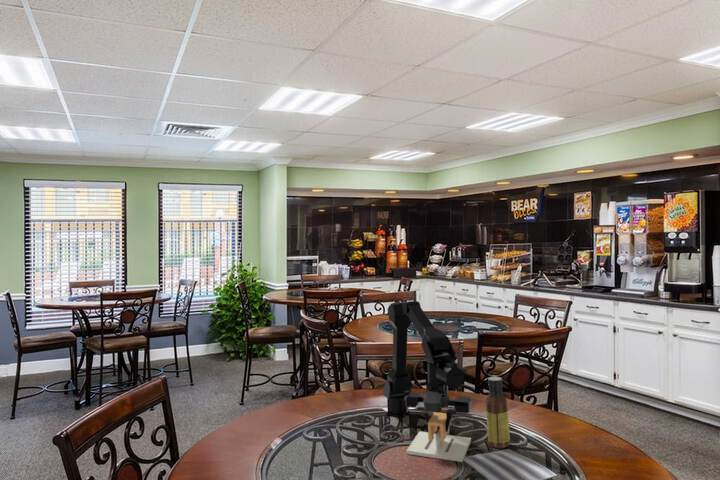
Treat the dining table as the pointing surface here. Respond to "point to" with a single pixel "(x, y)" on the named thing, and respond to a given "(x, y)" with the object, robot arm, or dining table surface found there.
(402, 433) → the dining table surface
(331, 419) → the dining table surface
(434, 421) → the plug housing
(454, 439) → the board
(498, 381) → the sauce bottle
